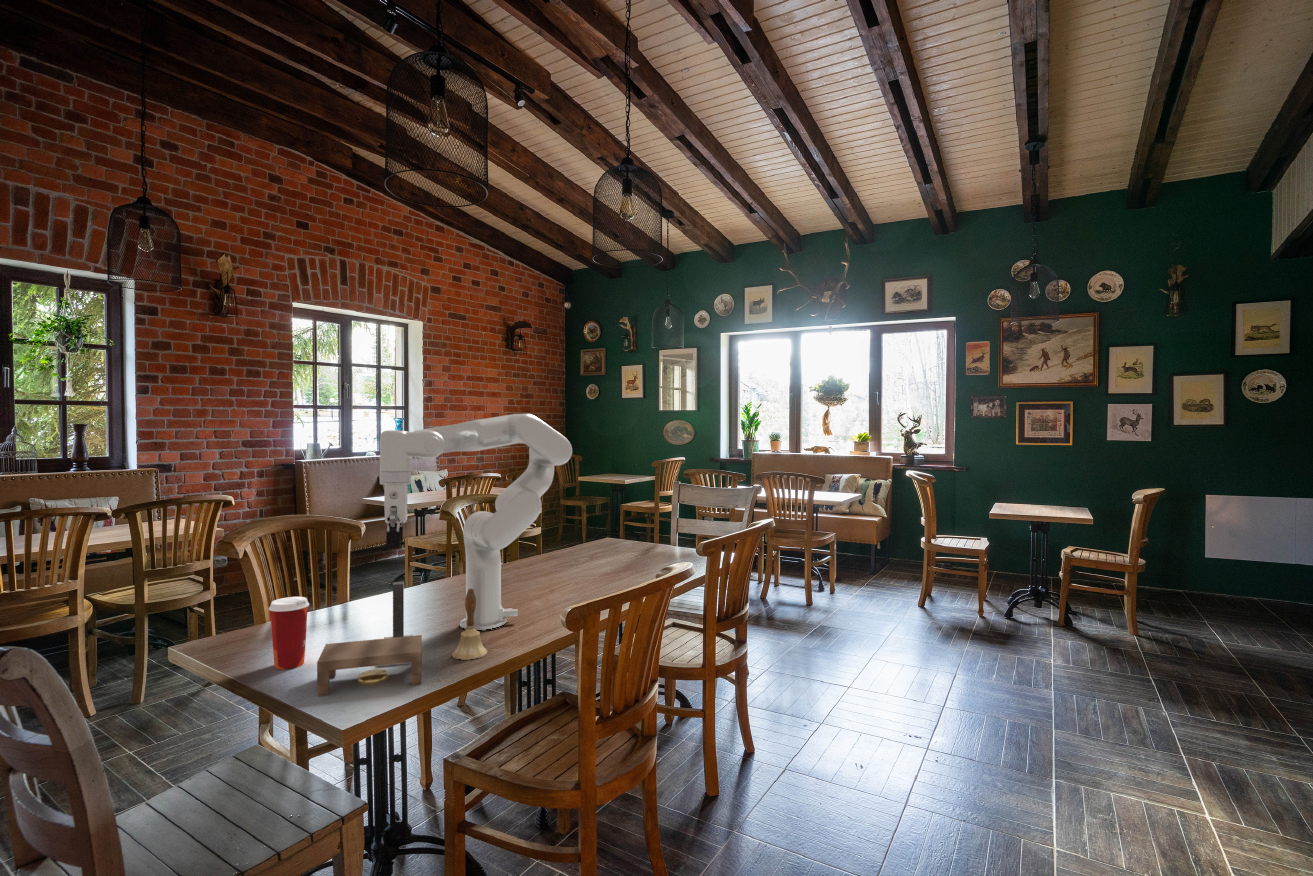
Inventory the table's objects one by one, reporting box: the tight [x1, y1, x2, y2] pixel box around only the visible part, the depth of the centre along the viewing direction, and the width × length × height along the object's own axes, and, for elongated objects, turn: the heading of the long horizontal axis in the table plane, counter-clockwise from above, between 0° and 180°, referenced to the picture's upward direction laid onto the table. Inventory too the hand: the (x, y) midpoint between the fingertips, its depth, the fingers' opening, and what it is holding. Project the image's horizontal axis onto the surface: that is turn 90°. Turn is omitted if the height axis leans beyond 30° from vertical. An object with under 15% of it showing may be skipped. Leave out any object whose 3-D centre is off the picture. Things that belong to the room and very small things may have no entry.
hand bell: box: [451, 589, 488, 661], centre depth 159 cm, size 8×8×16 cm
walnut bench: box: [316, 634, 423, 697], centre depth 143 cm, size 20×12×7 cm, turn 109°
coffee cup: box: [268, 596, 310, 671], centre depth 151 cm, size 8×8×15 cm
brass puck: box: [357, 668, 389, 686], centre depth 143 cm, size 6×6×2 cm
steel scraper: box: [377, 581, 414, 668], centre depth 161 cm, size 7×19×15 cm, turn 19°
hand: (394, 544), depth 169 cm, fingers open, 9 cm apart
